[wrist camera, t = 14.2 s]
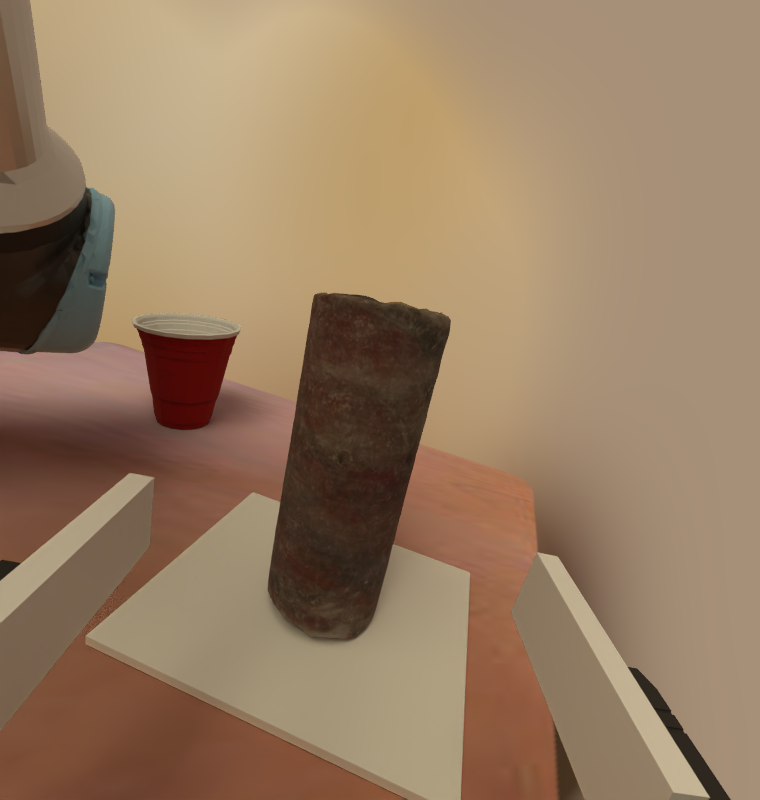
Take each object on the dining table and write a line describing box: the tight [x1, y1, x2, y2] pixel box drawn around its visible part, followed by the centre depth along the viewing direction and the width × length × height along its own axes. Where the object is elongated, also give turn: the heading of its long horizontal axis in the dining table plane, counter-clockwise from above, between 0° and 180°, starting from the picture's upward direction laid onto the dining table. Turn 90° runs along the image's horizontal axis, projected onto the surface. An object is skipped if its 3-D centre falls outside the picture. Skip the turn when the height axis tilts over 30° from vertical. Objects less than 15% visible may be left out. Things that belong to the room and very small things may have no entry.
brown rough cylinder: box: [268, 293, 451, 640], centre depth 23 cm, size 8×7×20 cm
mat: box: [85, 492, 470, 800], centre depth 26 cm, size 20×16×1 cm
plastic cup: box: [131, 313, 241, 429], centre depth 45 cm, size 11×11×12 cm
